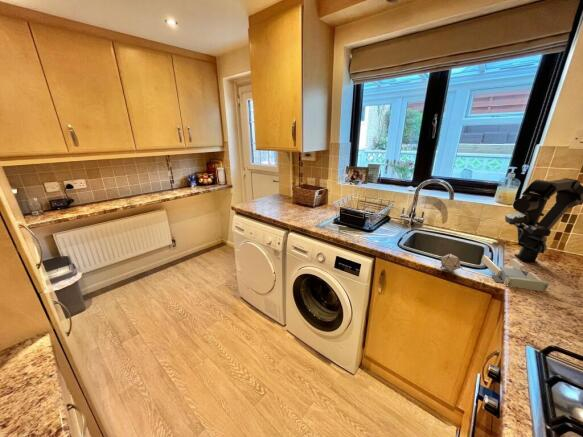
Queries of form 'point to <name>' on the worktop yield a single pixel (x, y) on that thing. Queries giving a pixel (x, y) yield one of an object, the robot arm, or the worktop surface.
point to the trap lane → (514, 263)
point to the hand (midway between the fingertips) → (519, 241)
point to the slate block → (511, 273)
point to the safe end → (527, 283)
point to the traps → (501, 280)
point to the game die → (450, 262)
